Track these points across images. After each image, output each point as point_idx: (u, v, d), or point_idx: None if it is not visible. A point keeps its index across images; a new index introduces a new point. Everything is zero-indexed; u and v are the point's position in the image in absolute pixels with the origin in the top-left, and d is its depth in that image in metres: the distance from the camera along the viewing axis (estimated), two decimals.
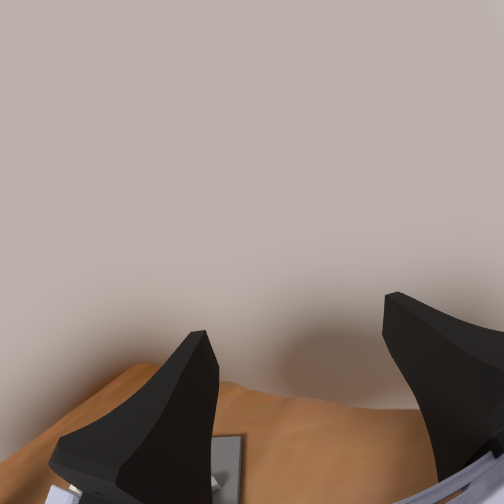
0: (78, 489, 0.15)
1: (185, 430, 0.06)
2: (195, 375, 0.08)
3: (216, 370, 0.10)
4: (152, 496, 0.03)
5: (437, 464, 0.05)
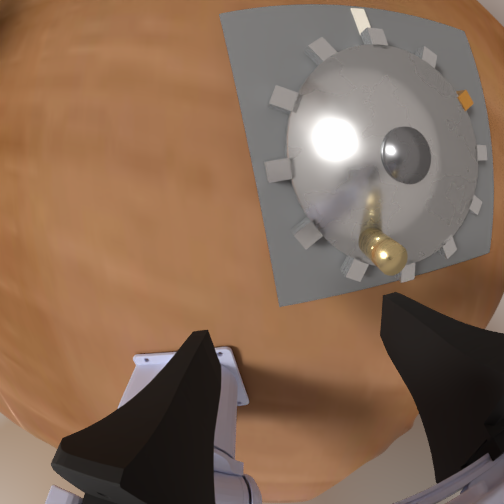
0: (371, 33, 0.11)
1: (188, 430, 0.06)
2: (198, 375, 0.08)
3: (218, 370, 0.10)
4: (156, 497, 0.03)
5: (435, 465, 0.05)
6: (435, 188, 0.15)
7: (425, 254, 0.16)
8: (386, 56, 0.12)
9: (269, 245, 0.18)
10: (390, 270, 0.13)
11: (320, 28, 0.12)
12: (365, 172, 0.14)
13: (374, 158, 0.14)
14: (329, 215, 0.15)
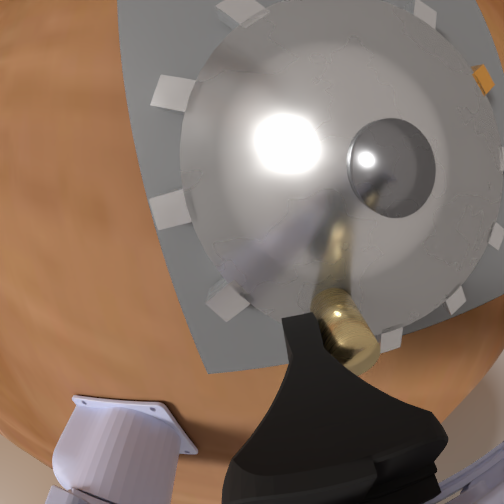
0: None
1: None
2: None
3: None
4: None
5: None
6: (441, 218, 0.09)
7: (419, 314, 0.11)
8: (353, 8, 0.06)
9: (181, 303, 0.12)
10: None
11: None
12: (318, 201, 0.09)
13: (335, 176, 0.09)
14: (258, 274, 0.10)
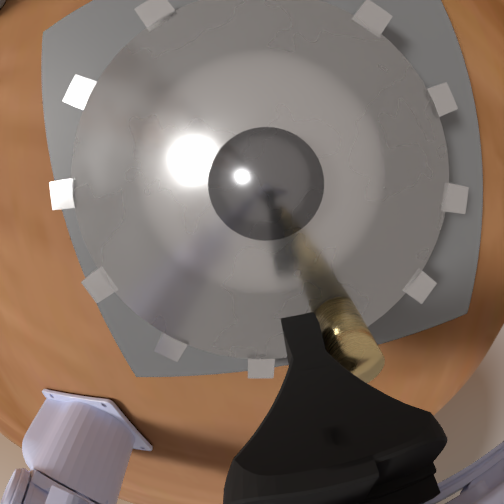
0: (70, 101, 0.07)
1: None
2: None
3: None
4: None
5: None
6: (362, 160, 0.08)
7: (428, 247, 0.09)
8: (107, 97, 0.07)
9: (102, 313, 0.12)
10: (365, 378, 0.08)
11: None
12: (242, 267, 0.10)
13: (233, 240, 0.09)
14: (258, 340, 0.11)
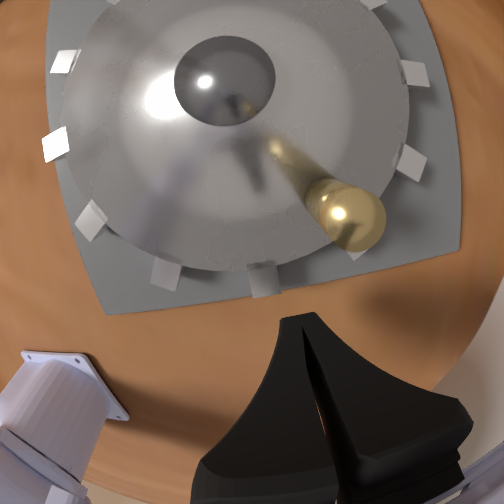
0: (56, 70, 0.08)
1: None
2: None
3: None
4: None
5: (337, 501, 0.05)
6: (307, 49, 0.08)
7: (403, 119, 0.09)
8: (86, 57, 0.08)
9: (76, 239, 0.12)
10: (370, 235, 0.07)
11: None
12: (219, 161, 0.10)
13: (205, 136, 0.09)
14: (253, 243, 0.11)
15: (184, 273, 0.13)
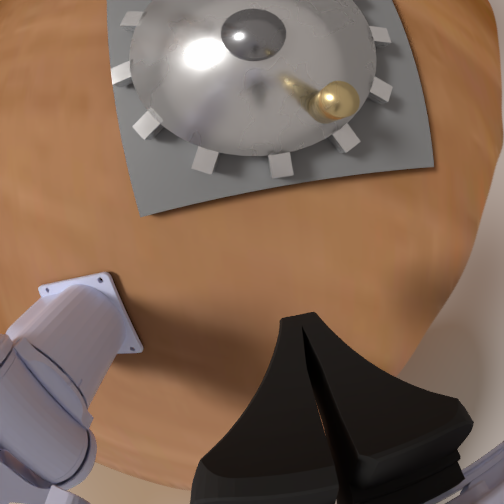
0: (126, 23, 0.11)
1: None
2: None
3: None
4: None
5: (337, 501, 0.05)
6: (305, 19, 0.11)
7: (372, 61, 0.12)
8: (152, 17, 0.11)
9: (124, 148, 0.15)
10: (351, 107, 0.10)
11: None
12: (250, 81, 0.13)
13: (241, 66, 0.12)
14: (272, 135, 0.14)
15: (216, 170, 0.16)
